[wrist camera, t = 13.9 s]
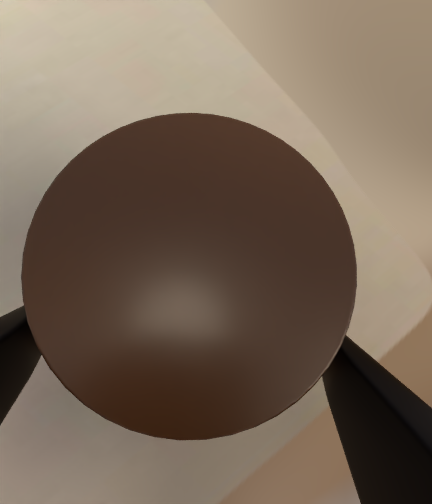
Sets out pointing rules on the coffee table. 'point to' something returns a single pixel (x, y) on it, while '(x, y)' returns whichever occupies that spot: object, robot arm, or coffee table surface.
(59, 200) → the brown cylinder
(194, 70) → the coffee table surface
